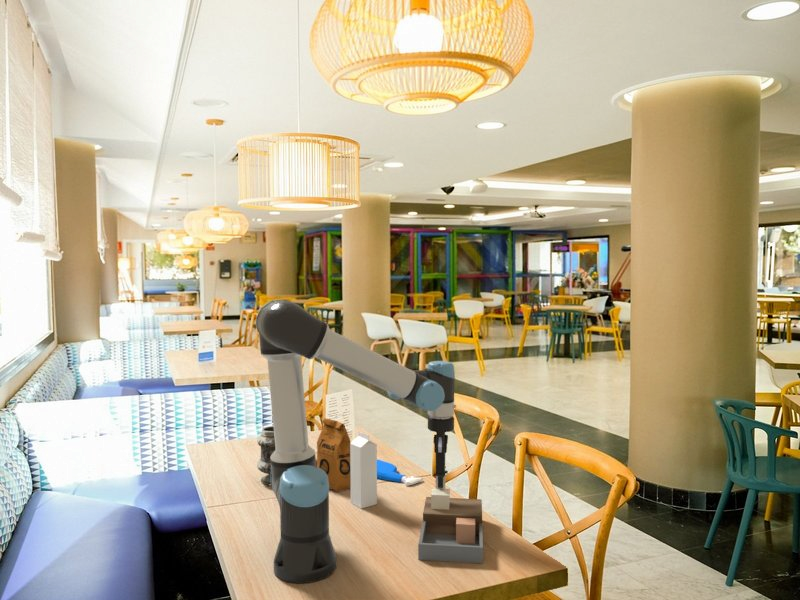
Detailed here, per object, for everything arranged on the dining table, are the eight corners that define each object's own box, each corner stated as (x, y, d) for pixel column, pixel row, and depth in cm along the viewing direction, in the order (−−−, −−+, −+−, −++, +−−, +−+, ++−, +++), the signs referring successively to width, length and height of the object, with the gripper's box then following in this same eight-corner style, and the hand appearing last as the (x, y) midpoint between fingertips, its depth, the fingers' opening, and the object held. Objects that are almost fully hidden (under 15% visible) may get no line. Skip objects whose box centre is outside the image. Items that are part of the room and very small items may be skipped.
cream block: (449, 509, 167) (449, 495, 167) (431, 508, 168) (431, 494, 167) (449, 502, 172) (449, 488, 172) (432, 501, 173) (432, 488, 172)
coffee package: (333, 494, 194) (332, 427, 193) (313, 483, 204) (312, 419, 203) (358, 487, 201) (358, 422, 199) (338, 477, 210) (337, 415, 209)
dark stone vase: (290, 472, 216) (289, 422, 215) (295, 483, 204) (294, 431, 203) (255, 476, 212) (254, 425, 211) (259, 488, 200) (258, 434, 199)
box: (482, 563, 149) (483, 547, 149) (418, 559, 151) (418, 544, 151) (482, 538, 163) (482, 523, 163) (422, 535, 165) (422, 520, 165)
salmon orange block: (475, 536, 163) (475, 543, 159) (456, 535, 163) (455, 542, 159) (475, 518, 162) (475, 524, 158) (456, 517, 163) (456, 524, 159)
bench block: (482, 538, 163) (482, 516, 163) (422, 535, 165) (422, 513, 164) (481, 519, 175) (481, 499, 174) (426, 517, 177) (426, 496, 176)
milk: (361, 509, 183) (360, 437, 181) (350, 502, 188) (349, 432, 186) (377, 504, 186) (376, 433, 185) (366, 498, 191) (366, 429, 190)
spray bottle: (354, 464, 216) (404, 482, 199) (376, 457, 224) (426, 474, 207) (354, 472, 216) (404, 491, 199) (376, 465, 224) (426, 482, 207)
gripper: (453, 422, 165) (453, 506, 166) (454, 410, 178) (454, 489, 179) (426, 421, 166) (425, 505, 167) (429, 410, 179) (428, 488, 180)
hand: (440, 497), depth 173 cm, fingers closed
